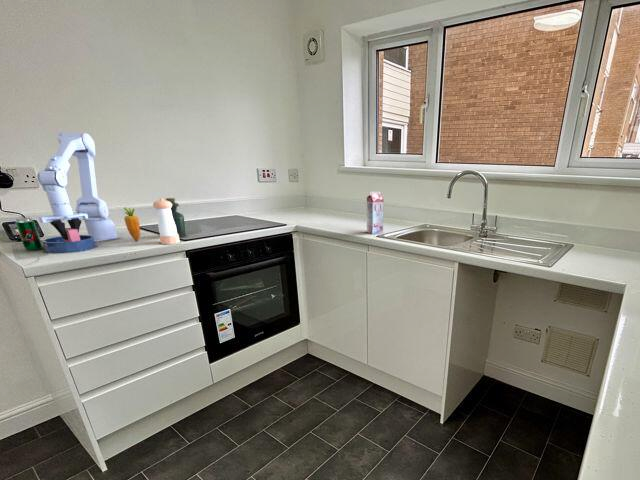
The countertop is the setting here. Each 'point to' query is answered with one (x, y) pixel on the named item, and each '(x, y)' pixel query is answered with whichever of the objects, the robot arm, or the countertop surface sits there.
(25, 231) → the soda can
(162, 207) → the pepper shaker
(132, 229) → the carrot
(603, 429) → the countertop surface
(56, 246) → the bowl
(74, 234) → the eraser
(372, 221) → the juice carton
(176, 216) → the green spray bottle
